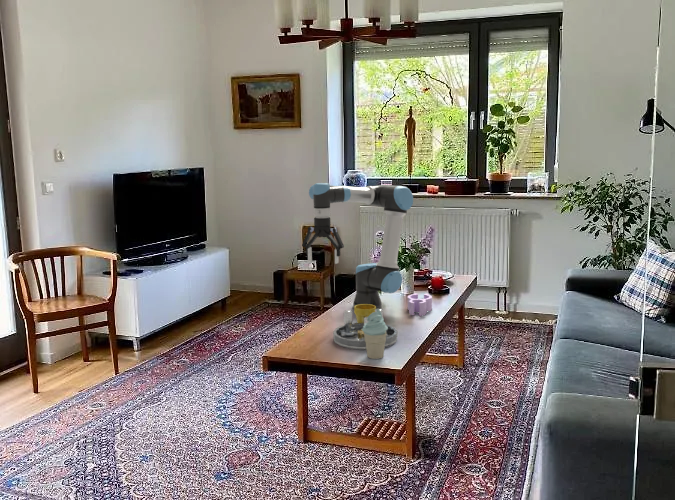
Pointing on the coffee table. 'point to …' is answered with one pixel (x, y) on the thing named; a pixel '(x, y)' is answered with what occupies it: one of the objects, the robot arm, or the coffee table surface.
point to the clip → (419, 304)
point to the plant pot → (363, 311)
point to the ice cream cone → (375, 335)
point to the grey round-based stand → (348, 324)
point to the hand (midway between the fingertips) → (323, 262)
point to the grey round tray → (361, 336)
